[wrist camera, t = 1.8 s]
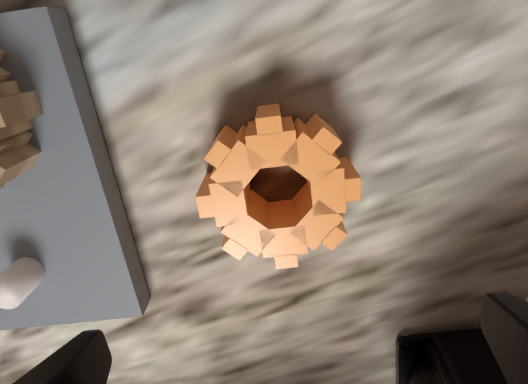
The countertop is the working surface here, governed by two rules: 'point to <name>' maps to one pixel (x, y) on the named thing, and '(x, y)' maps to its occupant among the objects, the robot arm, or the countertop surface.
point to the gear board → (62, 193)
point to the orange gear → (285, 211)
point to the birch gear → (16, 128)
